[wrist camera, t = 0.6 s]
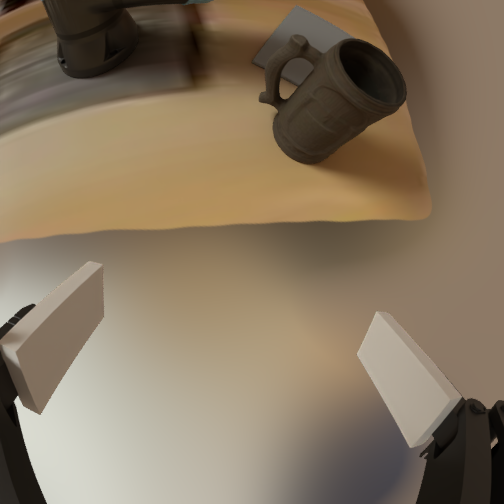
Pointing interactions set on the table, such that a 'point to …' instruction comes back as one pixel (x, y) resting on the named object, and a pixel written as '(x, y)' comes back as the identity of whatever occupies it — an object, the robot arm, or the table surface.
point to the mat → (308, 26)
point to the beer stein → (331, 96)
